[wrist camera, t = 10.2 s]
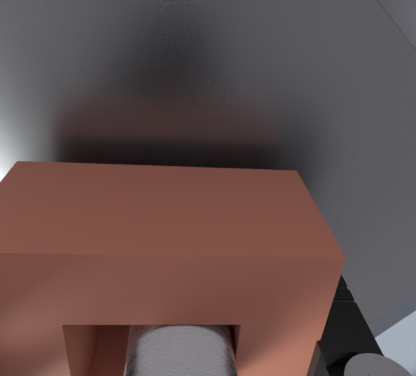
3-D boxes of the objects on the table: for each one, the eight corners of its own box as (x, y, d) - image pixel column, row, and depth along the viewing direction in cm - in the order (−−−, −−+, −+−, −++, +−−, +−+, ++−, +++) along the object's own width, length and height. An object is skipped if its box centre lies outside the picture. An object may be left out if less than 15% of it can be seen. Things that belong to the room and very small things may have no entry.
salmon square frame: (296, 170, 9) (345, 257, 6) (259, 349, 12) (282, 459, 9) (17, 160, 8) (-58, 252, 6) (52, 351, 11) (14, 468, 9)
